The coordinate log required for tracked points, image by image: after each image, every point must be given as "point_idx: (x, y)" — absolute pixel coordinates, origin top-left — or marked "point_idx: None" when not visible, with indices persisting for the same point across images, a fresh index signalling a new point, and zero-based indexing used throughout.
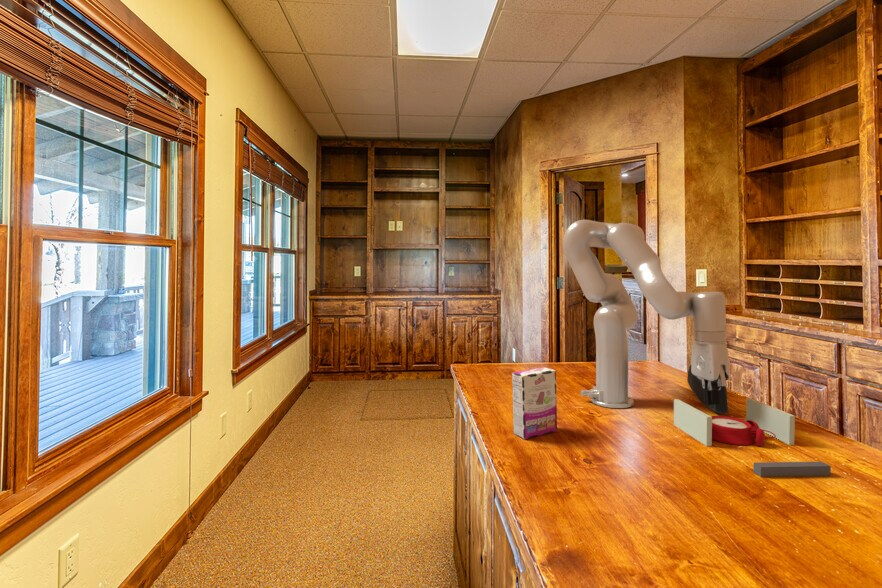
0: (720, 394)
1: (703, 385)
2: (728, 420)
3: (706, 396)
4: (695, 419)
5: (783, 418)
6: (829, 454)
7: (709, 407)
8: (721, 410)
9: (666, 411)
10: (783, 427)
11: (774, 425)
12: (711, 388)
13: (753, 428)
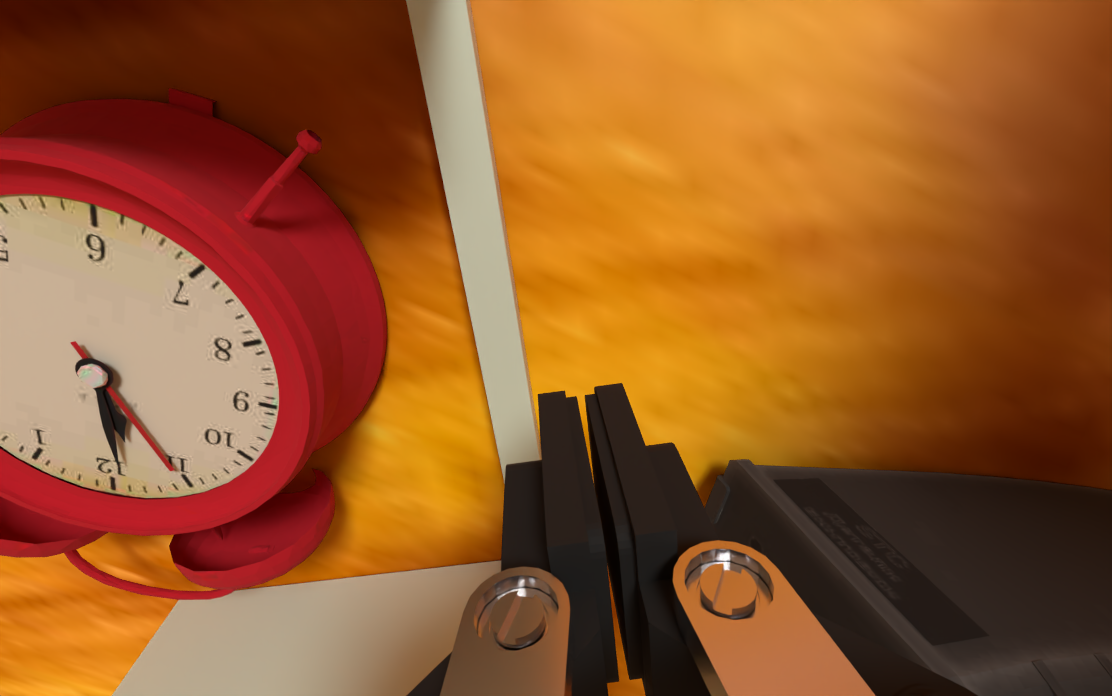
0: None
1: (744, 597)
2: (233, 412)
3: (569, 451)
4: None
5: None
6: (104, 686)
7: (888, 474)
8: (727, 511)
9: (953, 9)
10: (168, 691)
11: (261, 665)
12: (463, 642)
13: (300, 537)
